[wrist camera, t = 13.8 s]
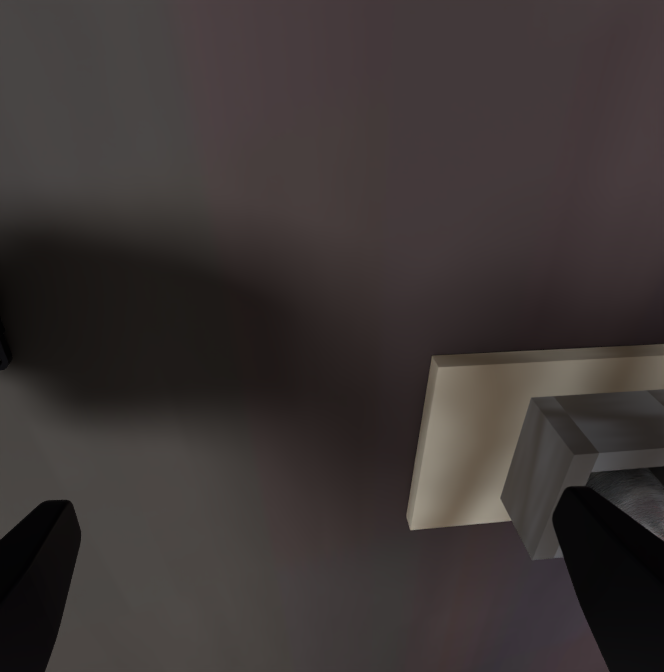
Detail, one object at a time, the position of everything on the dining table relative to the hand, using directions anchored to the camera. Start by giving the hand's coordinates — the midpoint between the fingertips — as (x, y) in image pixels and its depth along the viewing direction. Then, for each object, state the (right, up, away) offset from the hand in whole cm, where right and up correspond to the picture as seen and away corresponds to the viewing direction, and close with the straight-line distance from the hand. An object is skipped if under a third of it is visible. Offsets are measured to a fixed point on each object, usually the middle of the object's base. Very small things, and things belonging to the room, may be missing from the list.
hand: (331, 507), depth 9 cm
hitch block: (+14, -3, +19) cm, 24 cm away
